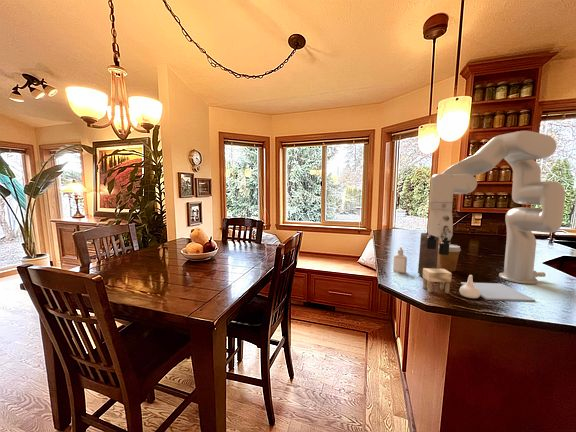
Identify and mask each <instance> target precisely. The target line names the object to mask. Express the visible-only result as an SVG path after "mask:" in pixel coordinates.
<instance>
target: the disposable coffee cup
mask: <svg viewBox="0 0 576 432" xmlns="http://www.w3.org/2000/svg"><path fill="white" fill-rule="evenodd" d="M438 249H439V246H438ZM461 251H462V249H461V246H460V245H457V244H451V243H450V244H449V254H448V255H440V254H439V253H438V255H439V267H440V269H445V270H447V271H449V272H455V271H457V270H456V269H457V264H458V259H459V255H460V252H461Z"/></svg>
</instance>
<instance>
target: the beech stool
mask: <svg viewBox="0 0 576 432" xmlns="http://www.w3.org/2000/svg"><path fill="white" fill-rule="evenodd" d="M452 275H453V273H452V271H447V270H445V269H441V268H437V269H435V268H423V276H422V277H423V278H422V279H423V281H422V289H423V290H427V291H426V292H427V293H428V294H432V290H433V283H435V282H436V283H439V289H440V290H442V291H444V294H448V295H449V294H450V289H451V288H450V287H451V283H452Z"/></svg>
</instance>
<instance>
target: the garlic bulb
mask: <svg viewBox="0 0 576 432" xmlns="http://www.w3.org/2000/svg"><path fill="white" fill-rule="evenodd" d="M473 278H474V277H473V275H472V274H469V275H468V277H467V284H466V285H461V286H460V287H459V289H458V290H459V294H460V295H461V296H462V297H464V298H469V299H478V298H480V297H481V296H480V291H479V290H478V288H476V287H475V286H474V285H473V283H474V281H473Z"/></svg>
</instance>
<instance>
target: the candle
mask: <svg viewBox="0 0 576 432" xmlns="http://www.w3.org/2000/svg"><path fill="white" fill-rule="evenodd" d="M427 236H428V235H427V232H421V233H420V241H419V243H420V244H419V255H418V256H419V257H418V264H417V265H418V266H417V267H418V269H417V270H418V271H417V274H419V276H421V277H423V268H435V269H438V255H439V248H438V247H439V242H440V239H439V238H438V237H436V238H435V239H436V249H427Z"/></svg>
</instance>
